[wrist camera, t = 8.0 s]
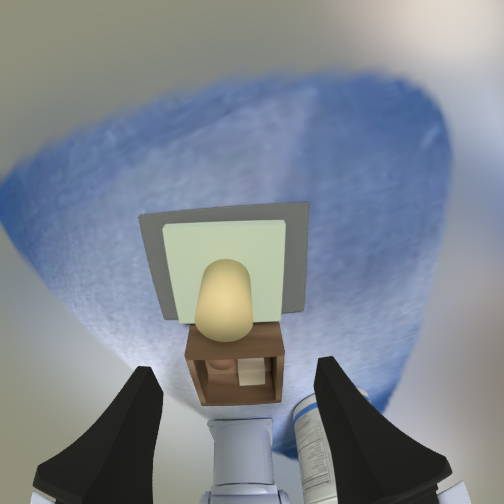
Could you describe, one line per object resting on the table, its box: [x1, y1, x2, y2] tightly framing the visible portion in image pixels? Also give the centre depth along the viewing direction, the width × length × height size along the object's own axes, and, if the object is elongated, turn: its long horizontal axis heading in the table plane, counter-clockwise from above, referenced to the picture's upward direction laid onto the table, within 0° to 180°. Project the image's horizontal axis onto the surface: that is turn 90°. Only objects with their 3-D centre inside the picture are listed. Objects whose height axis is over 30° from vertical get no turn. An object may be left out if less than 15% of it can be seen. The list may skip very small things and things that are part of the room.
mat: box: [138, 202, 309, 319], centre depth 19 cm, size 8×11×1 cm
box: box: [185, 321, 285, 406], centre depth 21 cm, size 7×7×4 cm
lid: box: [162, 220, 286, 342], centre depth 16 cm, size 7×7×6 cm
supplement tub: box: [293, 387, 372, 504], centre depth 22 cm, size 10×10×15 cm
